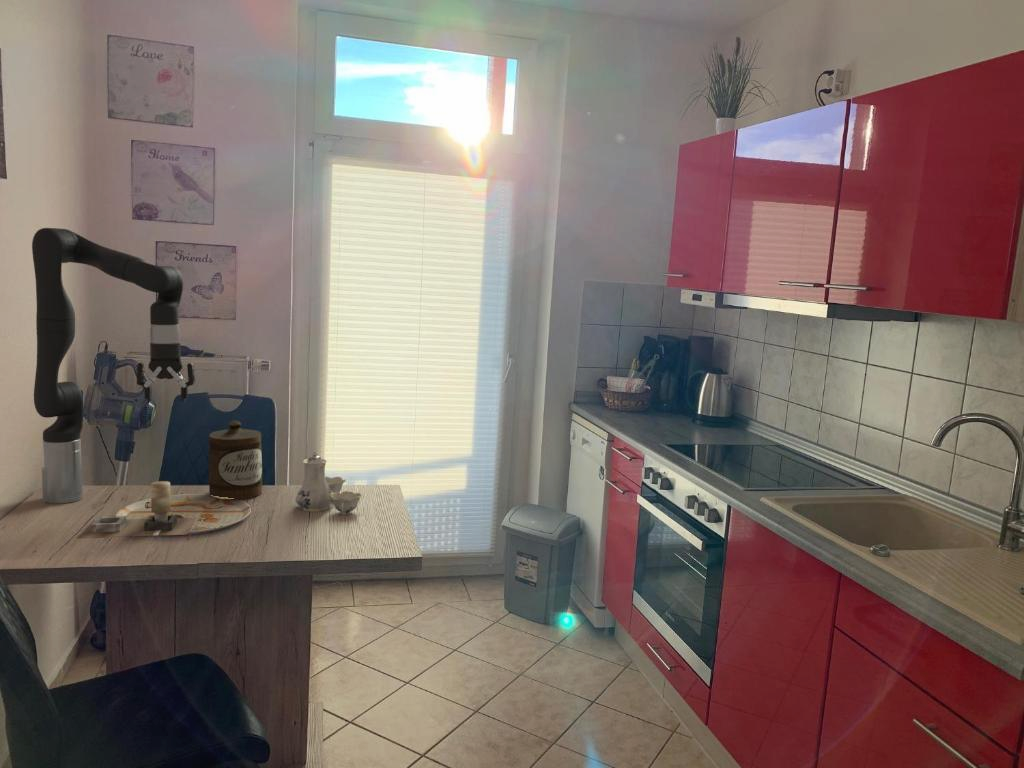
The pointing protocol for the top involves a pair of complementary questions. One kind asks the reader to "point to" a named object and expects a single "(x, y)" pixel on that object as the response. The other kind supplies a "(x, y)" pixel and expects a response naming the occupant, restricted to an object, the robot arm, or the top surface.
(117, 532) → the subfloor board
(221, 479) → the wooden container
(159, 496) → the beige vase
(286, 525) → the top surface
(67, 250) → the robot arm
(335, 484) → the chinaware
